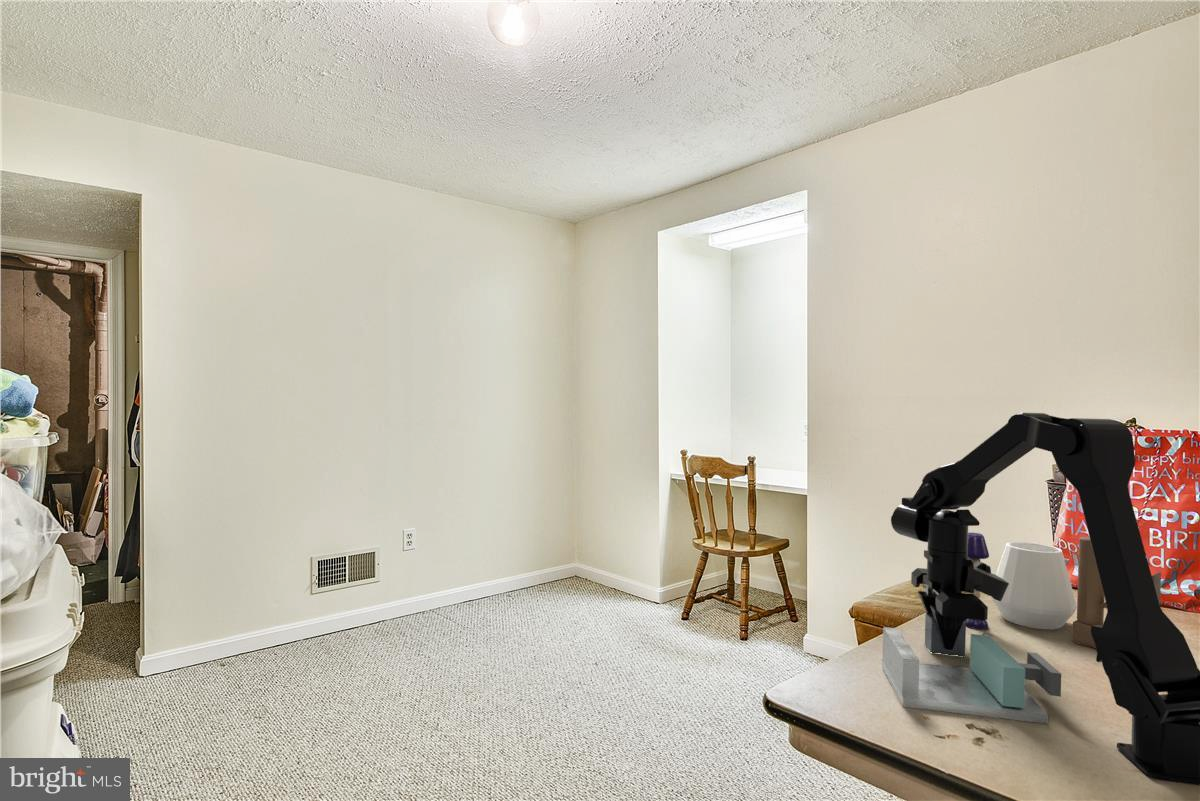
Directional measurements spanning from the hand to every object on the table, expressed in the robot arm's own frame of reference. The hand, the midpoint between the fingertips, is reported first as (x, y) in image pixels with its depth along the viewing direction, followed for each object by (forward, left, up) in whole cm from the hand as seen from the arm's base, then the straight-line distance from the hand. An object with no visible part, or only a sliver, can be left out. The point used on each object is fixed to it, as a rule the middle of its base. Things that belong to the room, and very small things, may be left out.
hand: (944, 644), depth 104 cm
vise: (-16, +3, -1) cm, 16 cm away
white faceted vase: (+21, -21, -1) cm, 30 cm away
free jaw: (-16, -4, 0) cm, 17 cm away
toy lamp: (+15, -9, -1) cm, 18 cm away
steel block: (0, 0, -1) cm, 1 cm away
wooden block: (+8, -28, -1) cm, 29 cm away
